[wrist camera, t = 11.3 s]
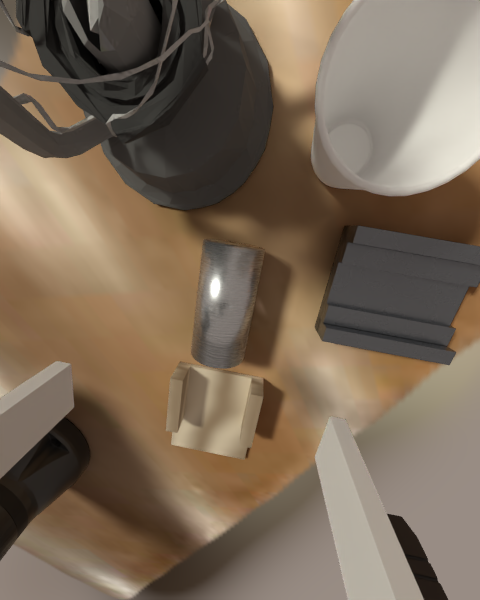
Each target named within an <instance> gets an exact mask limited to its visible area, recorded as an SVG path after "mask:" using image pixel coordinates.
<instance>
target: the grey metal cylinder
mask: <svg viewBox="0 0 480 600" xmlns="http://www.w3.org/2000/svg"><path fill="white" fill-rule="evenodd" d="M264 253H265V249H263V248H260V247H256V246H252V245H248V244H243V243H237V242H231V241H225V240H216V239H203V247H202V256H201V265H200V274H199V283H198V292H197V301H196V310H195V319H194V328H193V337H192V346H191V354H192V356H193V358H194V359H195V360H196V361H198V362H199V363H201V364H203V365H206V366H209V367H213V368H231V367H235V366H237V365H239V364H240V363H241V362H242V361H243V360H244V356H245V351H246V346H247V341H248V336H249V330H250V325H251V320H252V315H253V310H254V305H255V300H256V295H257V289H258V284H259V279H260V274H261V269H262V264H263V259H264Z"/></svg>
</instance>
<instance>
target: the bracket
mask: <svg viewBox="0 0 480 600" xmlns="http://www.w3.org/2000/svg"><path fill="white" fill-rule="evenodd" d="M262 401H263V378H261V377H256V376H251V375H246V374H240V373H235V372H230V371H225V370H220V369H215V368H210V367H205V366H200V365H194V364H189V363H184V362H180V363H179V365H178V366H177V368H176V370H175V371H174V373H173V375H172V376H171V378H170V388H169V399H168V411H167V423H166V431H170V432H172V441H171V445H176V446H181V447H186V448H190V449H195V450H200V451H205V452H210V453H214V454H219V455H224V456H229V457H234V458H239V459H243V460H245V456H246V451H247V447H248V448H251V446H252V442H253V438H254V434H255V430H256V426H257V422H258V417H259V413H260V409H261V405H262Z"/></svg>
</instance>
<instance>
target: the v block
mask: <svg viewBox="0 0 480 600" xmlns="http://www.w3.org/2000/svg"><path fill="white" fill-rule="evenodd" d="M479 282H480V247H479V246H473V245H468V244H462V243H456V242H450V241H445V240H439V239H433V238H427V237H422V236H416V235H410V234H404V233H398V232H393V231H387V230H381V229H375V228H370V227H364V226H344V229H343V233H342V236H341V239H340V243H339V246H338V250H337V253H336V256H335V260H334V263H333V267H332V270H331V273H330V277H329V280H328V284H327V287H326V290H325V294H324V297H323V301H322V304H321V307H320V311H319V314H318V317H317V321H316V324H315V329H316V330H317V332H318V334H319V336H320V338H321V340H322V341H325V342H330V343H335V344H341V345H346V346H351V347H356V348H362V349H367V350H372V351H378V352H383V353H388V354H393V355H399V356H404V357H409V358H415V359H420V360H425V361H430V362H436V363H441V364H446V365H450V363H451V361H452V359H453V357H454V356H455V354H456V352H455V351H453V350H452V349H450V348H449V347H447V345H448V343H449V341H450V340H451V338H452V336H453V334H454V332H455V330H456V329H455V328H454V327H452V326H450V324H451V322H452V320H453V318H454V316H455V314H456V312H457V310H458V308H459V306H460V304H461V302H462V300H463V298H464V296H465V294H466V292H467V290H468V288H469V286H471V287H477V286H478V284H479Z"/></svg>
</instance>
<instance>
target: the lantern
mask: <svg viewBox="0 0 480 600" xmlns="http://www.w3.org/2000/svg"><path fill="white" fill-rule="evenodd" d="M0 6H1V8H2V9H3V11H4V13H5V14H6V16H7V17H8V19H9V20H10V22H11V24H12V25H13V27H14V29H15V30H16V32H19V33H21V34H24V35H26V36H31V37H32V38H33V40H34V43H35V46H36V49H37V52H38V54H39V57H40V60H41V63H42V66H43V67H44V68H45V69H46V70H47V71H48V72H49V73H50V74H51V75H52V76H46V75H38V74H30V73H27V72H25V71H22V70H20V69H18V68H16V67H14V66H11V65H9V64H7V63H5V62H2V61H0V67H3V68H6V69H9V70H12V71H14V72H17V73H20V74H23V75H26V76H28V77H31V78H34V79H37V80H40V81H50V82H59V83H60V84H61V85H62V87H63V88H64V89H65V91H66V92H67V93H68V94H69V96H70V97H71V98H72V100H73V101H74V102H75V104H76V105H77V106H78V107H80V108H81V109H83V111H84V114H85V117H86V118H85V119H84V120H82V121H80V122H78V123H76V124H74V125H72V126H70V127H56V125H55V124H54V123H53V121H52V120H51V118H50V117H49V116H48V114H47V113H46V112H45V110H44V109H43V107H42V106H41V105H40V104H39V103H38V102H37V101H36V100H35V99H34V98H32V97H31V96H29V95H26V94H24V93H23V94H20V95H17V96H15V97H12V96H11V95H10V94H9V93H8V92H6V91H5V90H4V89H3V88H2V87H1V86H0V134H2V135H3V136H5V137H6V138H8V139H9V140H11V141H12V142H14V143H15V144H17V145H18V146H20V147H22V148H23V149H25V150H27V151H29V152H32V153H34V154H36V155H39V156H41V157H43V158H49V157H56V158H69V157H73V156H77V155H80V154H82V153H84V152H86V151H88V150H89V149H91V148H93V147H95V146H96V145H98V144H100V143H101V146H102V149H103V152H104V154H105V155H106V157H107V158H108V160H109V161H110V162H111V164H112V165H113V167H114V168H115V170H116V171H117V172H118V174H119V175H120V177H121V178H122V179H123V181H124V182H125V184H127V185H128V186H130V187H131V188H132V189H134V190H135V191H137V192H138V193H140V194H141V195H143V196H144V197H145V198H147V199H148V200H150V201H151V202H153V203H154V204H158V205H163V206H167V207H171V208H176V209H181V210H190V209H196V208H202V207H206V206H210V205H213V204H216V203H218V202H220V201H221V200H223V199H224V198H226V197H228V196H229V195H231V194H232V193H234V192H235V191H236V190H237V189H238V188H239V187H240V186H241V185H243V184H244V183H245V181H246V180H247V178H248V177H249V175H250V174H251V172H252V171H253V170H254V168H255V167H256V165H257V163H258V161H259V159H260V157H261V155H262V154H263V152H264V150H265V146H266V142H267V138H268V134H269V129H270V124H271V118H272V112H273V101H272V93H271V84H270V77H269V69H268V61H267V59H266V57H265V55H264V53H263V51H262V49H261V47H260V45H259V43H258V42H257V40H256V38H255V36H254V34H253V32H252V30H251V28H250V26H249V24H248V22H247V20H246V19H245V18H244V17H243V16H242V15H240V14H239V13H238V12H237V11H236V10H234V9H233V8H232V7H231V6H230V5H228V4H227V2H226V0H16V18H17V20H18V22H19V23H20V25H21V27H22V28H20V27H17V26H15V25H14V23H13V21H12V19H11V17H10V15H9V13H8V11H7V9H6V7H5V5H4V3H3V1H2V0H0ZM29 102H32V103H33V104H34V105H35V107H36V108H37V109H38V111H39V112H40V113H41V115H42V116H43V117H44V119H45V120H46V121H47V123H48V124H49V126H50V127H51V128H52V129H54V130H55V131H57V132H55V131H49V130H48V129H47V128H46V127H45V126H44V125H43V124H42V123H41V122H39V121H38V120H37V119H36V118H35V117H34V116H33V115H32V114H31V113H30V112H28V111H27V110H26V109H25V108H24V107H23V106H22V105H21V104H25V103H29Z"/></svg>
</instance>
